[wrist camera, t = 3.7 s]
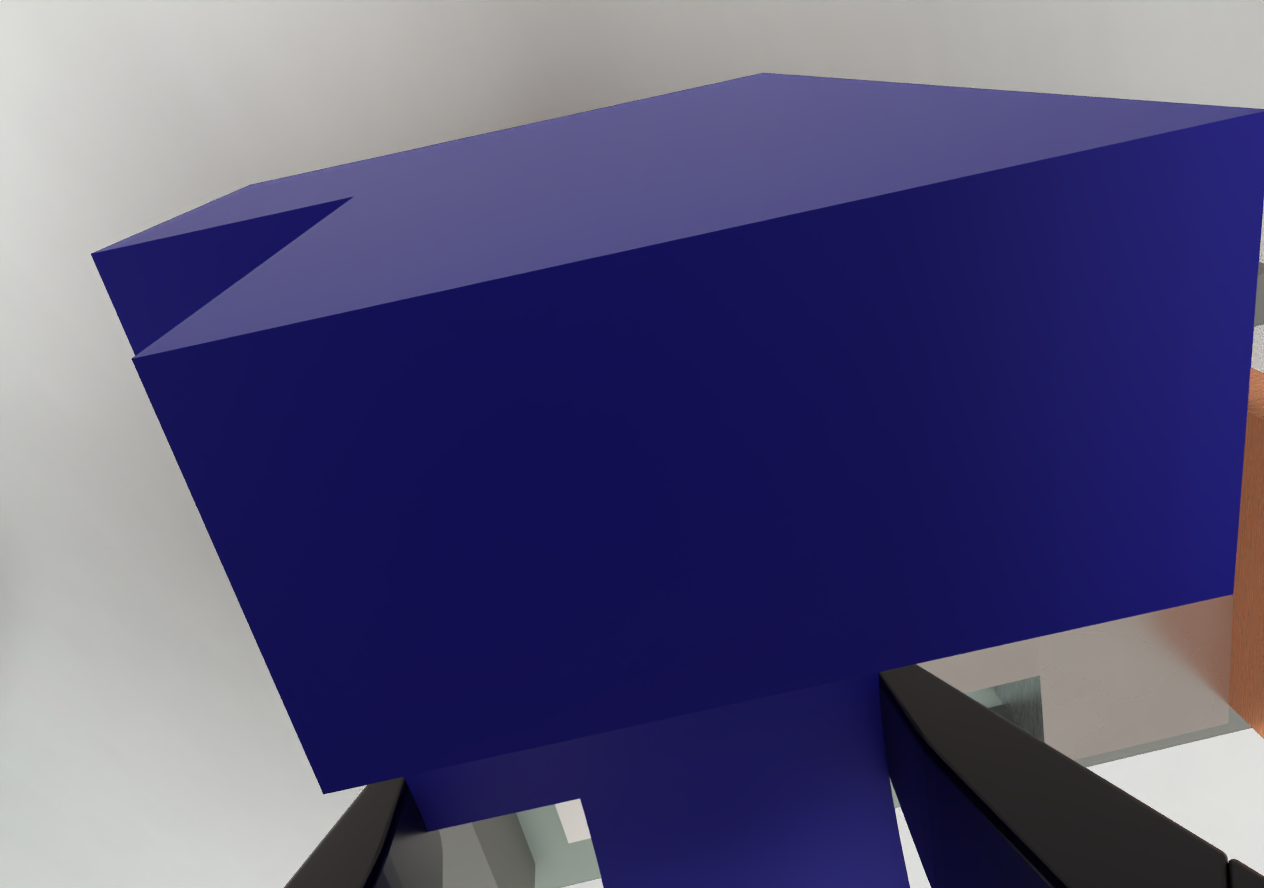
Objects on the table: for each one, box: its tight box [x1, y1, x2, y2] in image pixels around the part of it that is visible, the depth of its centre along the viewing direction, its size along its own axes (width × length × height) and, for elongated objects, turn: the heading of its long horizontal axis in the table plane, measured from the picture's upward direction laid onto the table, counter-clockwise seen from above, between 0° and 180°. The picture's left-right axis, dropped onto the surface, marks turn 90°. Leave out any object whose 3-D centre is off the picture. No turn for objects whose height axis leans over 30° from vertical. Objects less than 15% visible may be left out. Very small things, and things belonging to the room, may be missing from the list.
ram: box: [917, 368, 1264, 760], centre depth 18 cm, size 8×8×6 cm
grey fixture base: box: [439, 262, 1264, 888], centre depth 20 cm, size 19×14×4 cm
